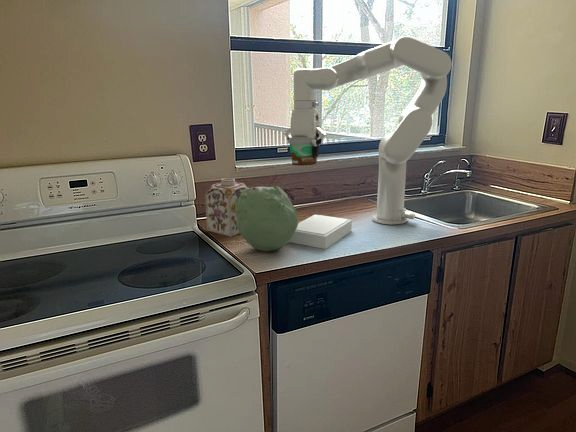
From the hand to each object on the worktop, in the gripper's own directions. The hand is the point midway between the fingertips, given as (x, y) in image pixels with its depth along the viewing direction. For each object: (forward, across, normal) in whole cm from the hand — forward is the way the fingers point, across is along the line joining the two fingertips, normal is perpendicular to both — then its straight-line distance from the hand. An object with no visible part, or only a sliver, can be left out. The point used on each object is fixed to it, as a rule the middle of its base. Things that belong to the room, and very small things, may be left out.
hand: (305, 156), depth 162 cm
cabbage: (+24, -6, +34) cm, 42 cm away
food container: (+3, -1, 0) cm, 3 cm away
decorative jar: (+24, +16, +24) cm, 38 cm away
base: (+24, -14, +15) cm, 31 cm away
